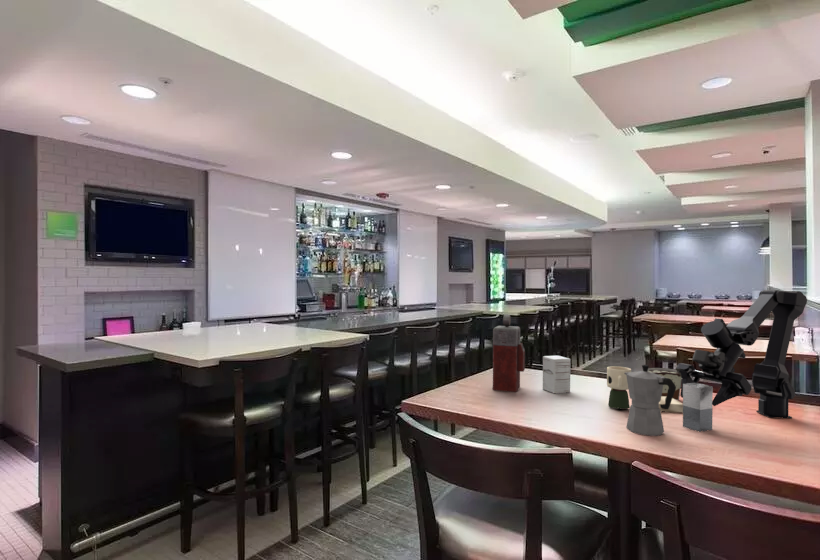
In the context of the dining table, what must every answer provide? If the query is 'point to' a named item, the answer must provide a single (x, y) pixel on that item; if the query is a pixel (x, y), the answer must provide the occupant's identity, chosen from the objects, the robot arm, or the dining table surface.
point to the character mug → (618, 387)
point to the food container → (671, 375)
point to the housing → (697, 406)
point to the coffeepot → (647, 401)
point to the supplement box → (556, 374)
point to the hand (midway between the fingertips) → (696, 400)
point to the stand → (671, 405)
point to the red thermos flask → (507, 357)
